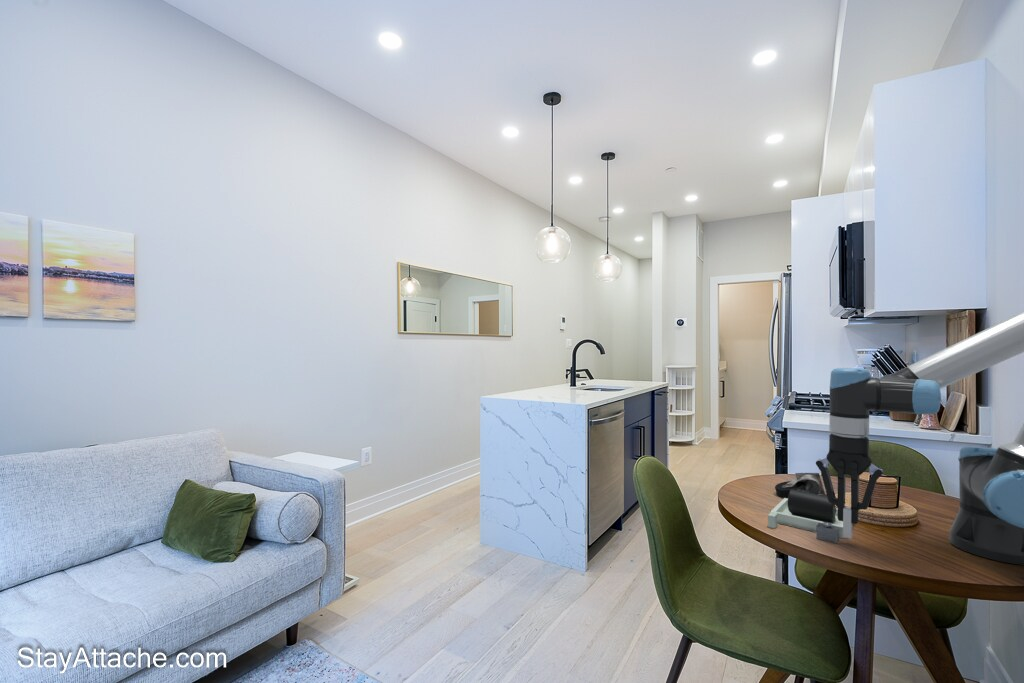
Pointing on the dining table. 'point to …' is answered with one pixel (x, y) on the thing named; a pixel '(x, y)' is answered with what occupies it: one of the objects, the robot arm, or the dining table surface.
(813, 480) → the caster wheel
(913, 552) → the dining table surface
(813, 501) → the end cap
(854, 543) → the dining table surface
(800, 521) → the pale green tray
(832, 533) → the block
